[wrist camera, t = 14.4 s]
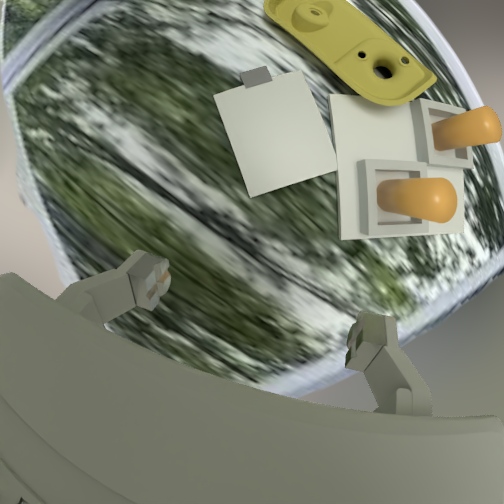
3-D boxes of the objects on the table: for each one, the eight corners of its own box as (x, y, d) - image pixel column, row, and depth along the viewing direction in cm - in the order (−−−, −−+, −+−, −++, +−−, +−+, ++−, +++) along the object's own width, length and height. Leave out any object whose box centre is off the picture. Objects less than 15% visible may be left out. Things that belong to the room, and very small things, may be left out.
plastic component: (254, 6, 22) (313, -39, 16) (276, 25, 28) (325, -14, 22) (381, 123, 23) (446, 74, 17) (378, 125, 29) (432, 85, 23)
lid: (210, 87, 26) (208, 83, 25) (295, 62, 25) (296, 58, 24) (250, 197, 28) (250, 198, 28) (338, 169, 28) (341, 168, 27)
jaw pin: (374, 179, 27) (424, 176, 17) (402, 180, 26) (456, 178, 17) (375, 212, 27) (425, 223, 18) (403, 211, 27) (457, 223, 17)
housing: (327, 96, 26) (358, 52, 15) (450, 113, 25) (504, 95, 14) (338, 238, 29) (379, 262, 18) (459, 231, 28) (516, 247, 18)
